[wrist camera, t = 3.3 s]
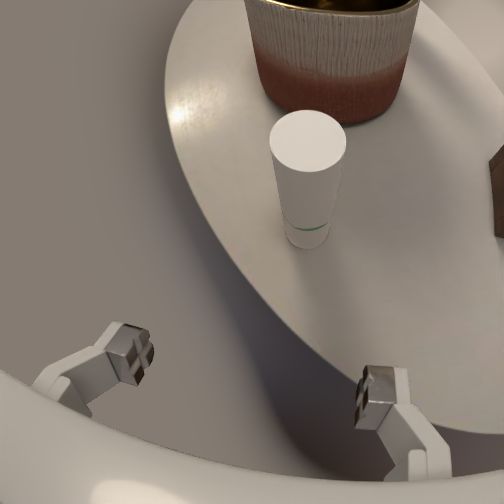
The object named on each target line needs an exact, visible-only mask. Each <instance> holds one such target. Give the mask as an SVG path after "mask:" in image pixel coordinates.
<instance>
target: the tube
mask: <svg viewBox="0 0 504 504" xmlns="http://www.w3.org/2000/svg"><path fill="white" fill-rule="evenodd" d="M269 141H270V149H271V154H272V159H273V165H274V170H275V175H276V181H277V186H278V192H279V198H280V203H281V209H282V215H283V221H284V227H285V232H286V236H287V238H288V239H289V241H290V242H291V243H292V244H293V245H295V246H296V247H299V248H301V249H313V248H316V247H318V246H320V245H321V244H322V243H323V242H324V241H325V240H326V238H327V236H328V233H329V228H330V224H331V219H332V214H333V210H334V205H335V200H336V195H337V190H338V186H339V181H340V176H341V170H342V165H343V160H344V155H345V149H346V136H345V133H344V131H343V129H342V127H341V126H340V124H339V123H338V122H337V121H336V120H334V119H333V118H332V117H330V116H329V115H327V114H324V113H322V112H318V111H313V110H300V111H295V112H292V113H289V114H287V115H285V116H284V117H282V118H281V119H280V120H278V121H277V122H276V124H275V125H274V126H273V128H272V130H271V133H270V138H269Z"/></svg>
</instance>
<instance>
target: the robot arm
mask: <svg viewBox="0 0 504 504" xmlns="http://www.w3.org/2000/svg"><path fill="white" fill-rule="evenodd" d="M149 337H150V334H149V331H148V330H146V329H143V328H139V327H136V326H132V325H128V324H125V323H121V322H117V321H114V322H112V323H111V324H110V325H109V327H108V328H107V329H106V330H105V332H104V333H103V334H102V336H101V337H100V338H99V339H98V341H97V342H96V343H95V345H94V346H93V347H91V346H89V347H87V348H85V349H83V350H81V351H78V352H76V353H74V354H72V355H70V356H68V357H66V358H64V359H61V360H59V361H57V362H55V363H53V364H51V365H49V366H47V367H45V369H44V370H43V371H42V373H41V374H40V375H39V376H38V378H37V379H36V380H35V381H34V383H33V384H32V385H31V387H29V386H27V385H26V384H24V383H22V382H21V381H19V380H18V379H16V378H14V377H13V376H11V375H10V374H8V373H6V372H5V371H3V370H2V369H0V504H504V469H503V470H497V471H492V472H487V473H481V474H475V475H468V476H461V477H453V478H452V467H451V456H450V447H449V446H448V444H447V443H446V442H445V441H444V440H443V438H442V437H441V436H440V434H439V433H438V432H437V431H436V430H435V428H434V427H433V426H432V425H431V423H430V422H429V421H428V420H427V418H426V417H425V416H424V415H423V414H422V412H421V411H420V410H419V409H418V407H417V406H416V405H415V404H411V395H410V387H409V379H408V372H407V369H406V368H403V367H389V366H373V365H366V366H365V368H364V370H363V378H361V379H360V380H359V383H358V387H357V391H356V405H357V406H358V409H357V410H356V413H355V429H367V430H377V433H378V435H379V437H380V438H381V440H382V442H383V444H384V445H385V447H386V449H387V451H388V452H389V454H390V456H391V458H392V460H393V461H394V463H395V465H396V466H395V468H393V469H392V470H391V471H390V473H388V474H387V476H385V477H384V482H360V481H359V482H358V481H339V480H325V479H315V478H305V477H297V476H288V475H282V474H275V473H269V472H263V471H258V470H252V469H247V468H242V467H238V466H233V465H229V464H224V463H220V462H215V461H212V460H208V459H204V458H200V457H196V456H193V455H189V454H186V453H183V452H179V451H176V450H173V449H170V448H166V447H163V446H160V445H157V444H154V443H151V442H148V441H146V440H143V439H140V438H138V437H135V436H132V435H129V434H127V433H124V432H122V431H119V430H117V429H114V428H112V427H110V426H107V425H105V424H103V423H100V422H98V421H96V420H93V419H91V417H92V412H91V411H90V410H89V408H88V407H87V405H86V404H88V403H89V402H91V401H92V400H93V399H95V398H97V397H98V396H100V395H101V394H103V393H104V392H106V391H107V390H109V389H110V388H112V387H113V386H115V385H116V384H118V383H119V381H121V382H124V383H127V384H131V385H134V386H138V385H139V383H140V381H141V379H142V378H143V376H144V370H143V369H145V368H147V367H148V366H150V364H151V362H152V360H153V356H154V348H153V344H152V343H151V342H150V341H149V340H148V339H149Z"/></svg>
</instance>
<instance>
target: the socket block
mask: <svg viewBox="0 0 504 504" xmlns="http://www.w3.org/2000/svg"><path fill="white" fill-rule="evenodd" d="M489 167H490V175H491V184H492V194H493V206H494V222H495V223H494V224H495V236H497V237H501V238H504V145H503V146H502V147H501V148H500V150H499V151H498V152H497V153H496V154H495V155H494V157H493V158H492V159H491V160H490V161H489Z"/></svg>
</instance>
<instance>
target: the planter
mask: <svg viewBox="0 0 504 504" xmlns="http://www.w3.org/2000/svg"><path fill="white" fill-rule="evenodd" d="M244 2H245V6H246V11H247V16H248V21H249V26H250V31H251V36H252V42H253V47H254V53H255V58H256V63H257V68H258V73H259V77H260V80H261V83H262V86H263V88H264V90H265V92H266V93H267V95H268V96H269V97H270V98H271V99H272V100H273V101H274V102H275V103H276V104H277V105H279V106H280V107H282V108H283V109H285V110H287V111H288V112H290V113H292V112H295V111H300V110H313V111H318V112H322V113H324V114H327V115H329V116H330V117H332V118H333V119H334V120H336V121H337V122H338V123H339V124H346V123H355V122H360V121H364V120H367V119H370V118H373V117H375V116H377V115H379V114H380V113H382V112H383V111H385V110H386V109H387V108H388V107H389V106H390V105H391V104H392V102H393V101H394V99H395V97H396V95H397V92H398V89H399V86H400V83H401V80H402V76H403V72H404V68H405V64H406V60H407V56H408V52H409V47H410V43H411V39H412V34H413V30H414V26H415V21H416V16H417V12H418V7H419V2H420V0H244Z"/></svg>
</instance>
